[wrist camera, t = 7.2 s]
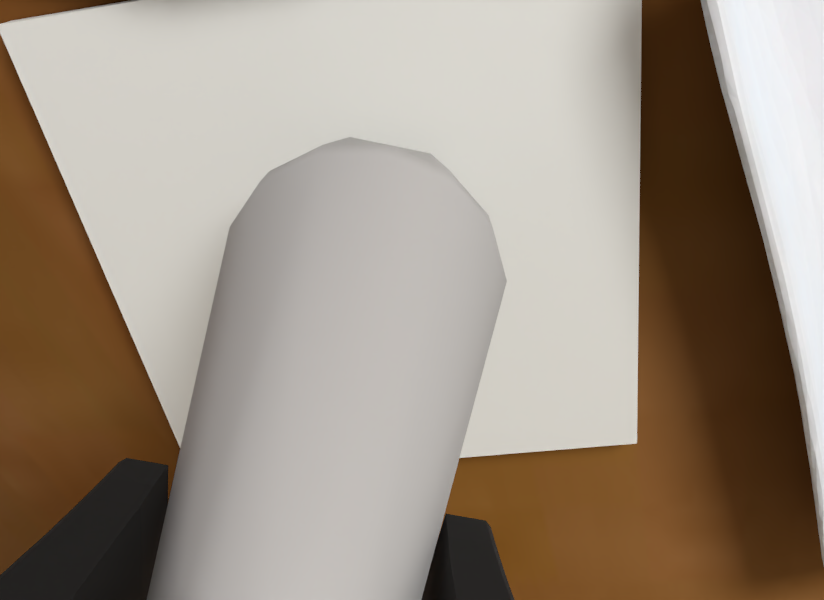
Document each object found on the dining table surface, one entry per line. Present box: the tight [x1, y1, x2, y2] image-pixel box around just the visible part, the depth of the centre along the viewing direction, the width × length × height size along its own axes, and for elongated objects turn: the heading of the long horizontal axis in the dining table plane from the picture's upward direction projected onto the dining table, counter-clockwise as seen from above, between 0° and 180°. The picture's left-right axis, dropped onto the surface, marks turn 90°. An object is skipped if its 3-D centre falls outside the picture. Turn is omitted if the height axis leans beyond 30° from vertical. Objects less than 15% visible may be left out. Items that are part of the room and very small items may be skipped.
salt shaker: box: [147, 137, 507, 600], centre depth 11 cm, size 6×6×13 cm
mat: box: [0, 0, 642, 458], centre depth 18 cm, size 14×14×1 cm
